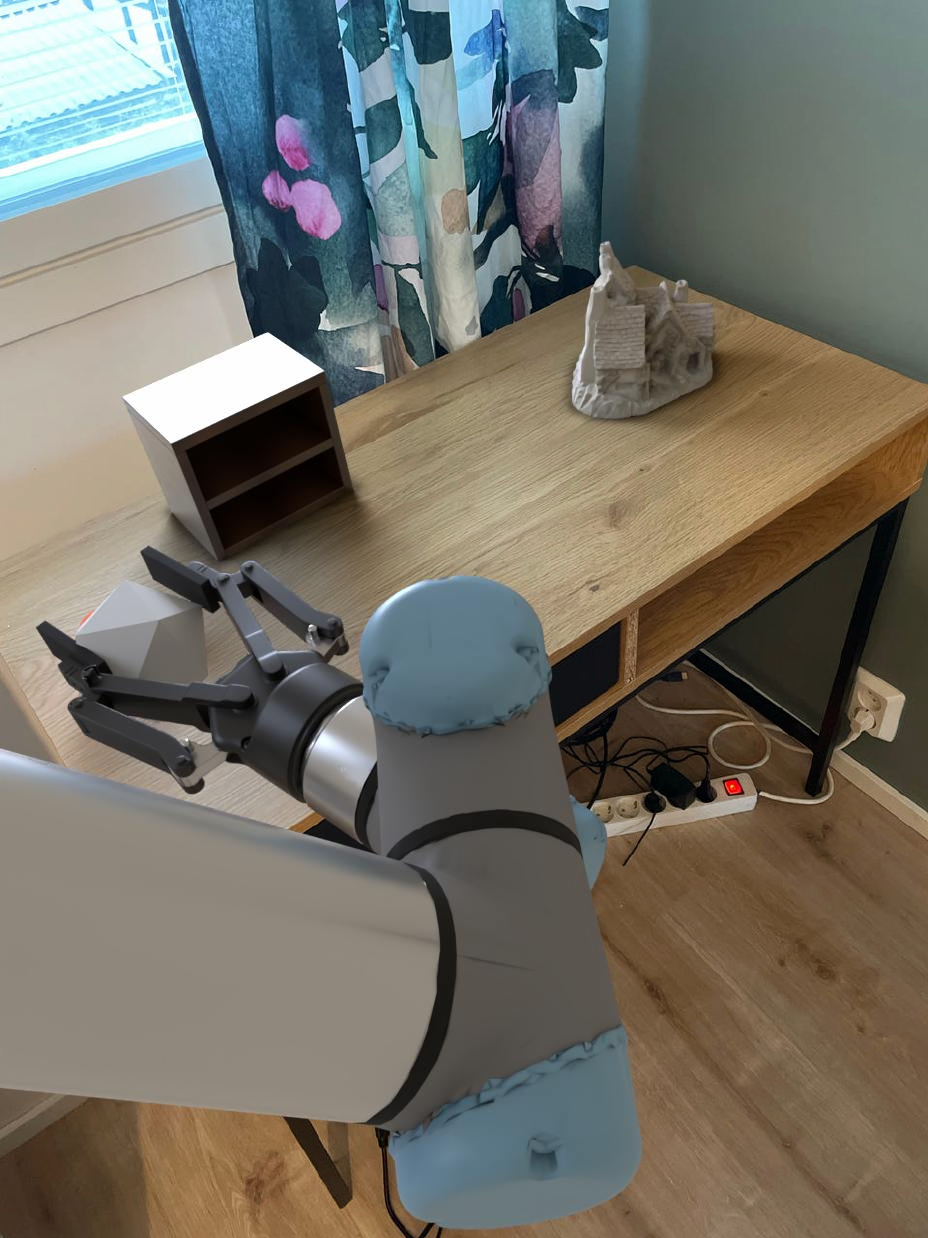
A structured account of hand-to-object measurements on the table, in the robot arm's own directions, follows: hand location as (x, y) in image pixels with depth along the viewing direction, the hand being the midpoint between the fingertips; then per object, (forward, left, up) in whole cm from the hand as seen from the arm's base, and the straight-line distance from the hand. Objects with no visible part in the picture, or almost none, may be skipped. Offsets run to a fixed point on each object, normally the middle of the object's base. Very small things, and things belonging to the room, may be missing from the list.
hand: (102, 599), depth 61 cm
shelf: (+16, +26, -16) cm, 35 cm away
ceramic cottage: (+61, +21, -16) cm, 66 cm away
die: (+1, -4, -6) cm, 8 cm away
